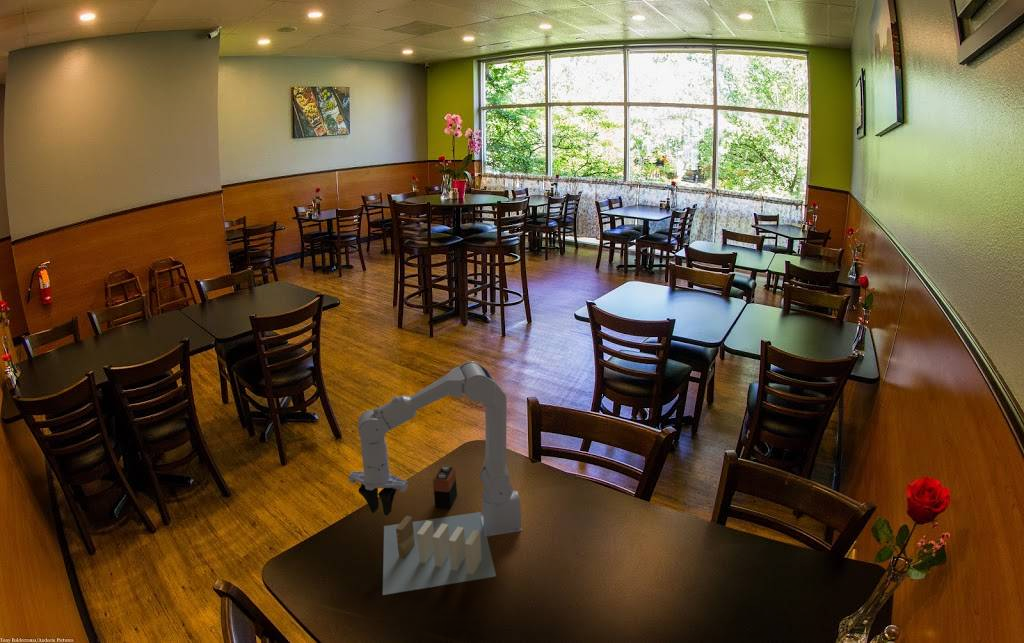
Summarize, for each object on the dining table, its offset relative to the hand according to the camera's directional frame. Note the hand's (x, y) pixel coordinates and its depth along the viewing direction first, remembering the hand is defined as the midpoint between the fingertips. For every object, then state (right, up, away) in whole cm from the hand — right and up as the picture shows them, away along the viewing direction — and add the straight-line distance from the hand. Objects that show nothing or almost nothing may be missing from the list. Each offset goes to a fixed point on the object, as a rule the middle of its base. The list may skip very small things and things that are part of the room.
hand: (381, 511), depth 139 cm
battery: (+13, -4, +20) cm, 24 cm away
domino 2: (+15, -11, -2) cm, 18 cm away
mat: (+13, -10, +2) cm, 16 cm away
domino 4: (+22, -11, -4) cm, 25 cm away
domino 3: (+19, -11, -3) cm, 22 cm away
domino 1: (+11, -10, 0) cm, 15 cm away
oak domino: (+6, -10, +1) cm, 12 cm away
